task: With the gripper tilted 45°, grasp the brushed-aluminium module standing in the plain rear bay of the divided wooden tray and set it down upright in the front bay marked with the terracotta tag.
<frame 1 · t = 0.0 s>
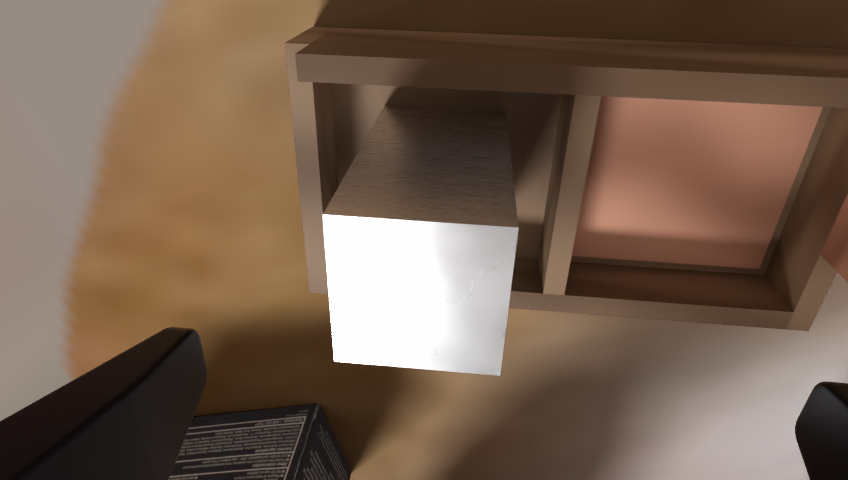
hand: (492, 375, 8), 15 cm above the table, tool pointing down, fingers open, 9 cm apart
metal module: (442, 165, 21), point 1 cm above the table, touching divided wooden tray
small box: (257, 445, 32), on the table
divided wooden tray: (558, 164, 22), on the table
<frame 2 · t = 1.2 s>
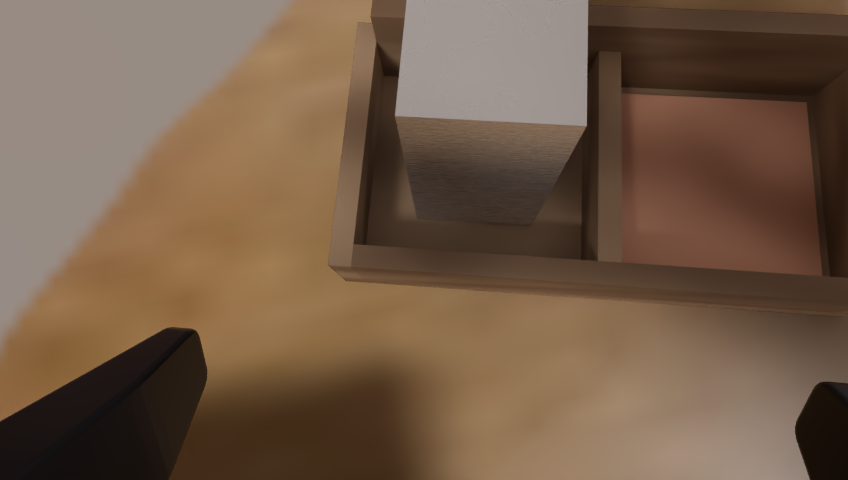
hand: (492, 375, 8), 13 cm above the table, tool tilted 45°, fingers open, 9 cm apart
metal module: (477, 169, 22), point 1 cm above the table, touching divided wooden tray
divided wooden tray: (587, 182, 23), on the table
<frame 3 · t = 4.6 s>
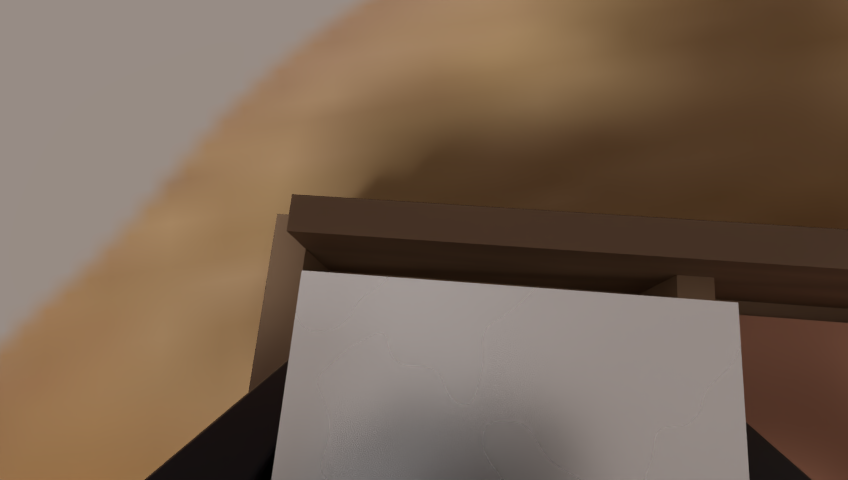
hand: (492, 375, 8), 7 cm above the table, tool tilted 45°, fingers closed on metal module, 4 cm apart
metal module: (472, 437, 14), point 1 cm above the table, touching gripper, divided wooden tray
divided wooden tray: (647, 451, 14), on the table
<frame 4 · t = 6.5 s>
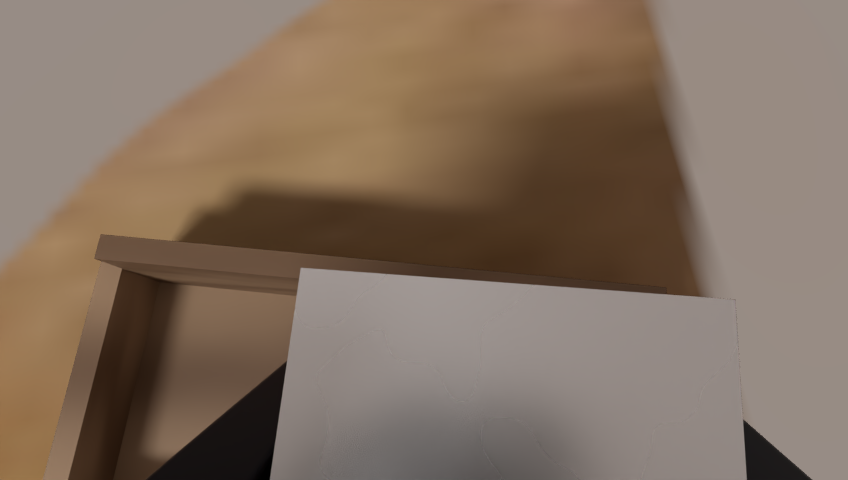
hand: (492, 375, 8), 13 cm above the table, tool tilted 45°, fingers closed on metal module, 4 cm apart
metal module: (471, 436, 14), point 6 cm above the table, touching gripper
divided wooden tray: (373, 415, 20), on the table
when the fingers open (8 cm above the table, at t = 8.3 s): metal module drops 1 cm, resting on divided wooden tray.
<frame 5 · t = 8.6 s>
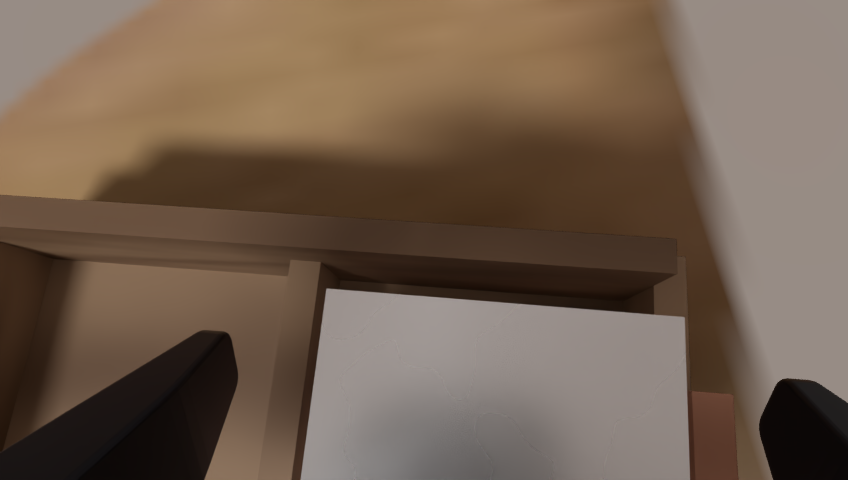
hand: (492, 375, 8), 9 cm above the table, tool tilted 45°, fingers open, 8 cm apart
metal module: (469, 432, 15), point 1 cm above the table, touching divided wooden tray
divided wooden tray: (316, 415, 16), on the table
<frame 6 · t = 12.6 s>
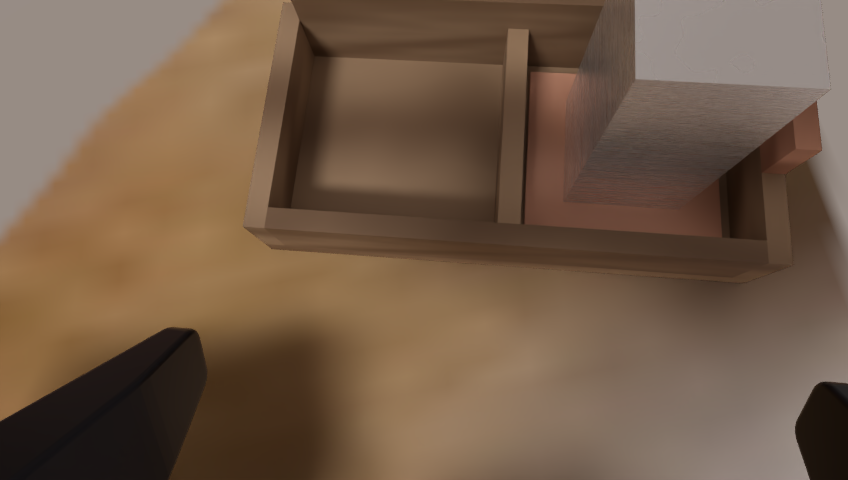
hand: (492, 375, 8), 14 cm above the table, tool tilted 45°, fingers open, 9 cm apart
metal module: (620, 153, 22), point 1 cm above the table, touching divided wooden tray
divided wooden tray: (505, 157, 24), on the table
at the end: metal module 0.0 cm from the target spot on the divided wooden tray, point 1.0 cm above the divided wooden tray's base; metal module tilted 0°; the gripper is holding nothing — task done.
